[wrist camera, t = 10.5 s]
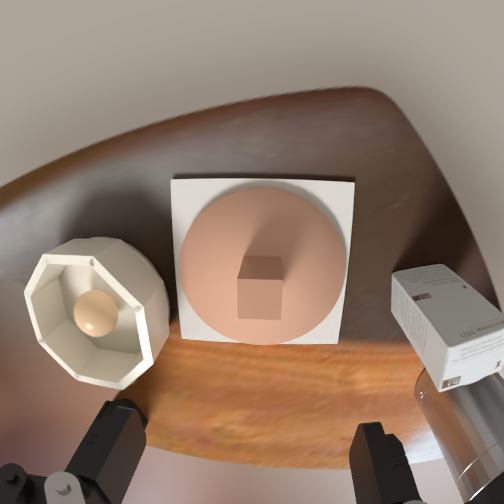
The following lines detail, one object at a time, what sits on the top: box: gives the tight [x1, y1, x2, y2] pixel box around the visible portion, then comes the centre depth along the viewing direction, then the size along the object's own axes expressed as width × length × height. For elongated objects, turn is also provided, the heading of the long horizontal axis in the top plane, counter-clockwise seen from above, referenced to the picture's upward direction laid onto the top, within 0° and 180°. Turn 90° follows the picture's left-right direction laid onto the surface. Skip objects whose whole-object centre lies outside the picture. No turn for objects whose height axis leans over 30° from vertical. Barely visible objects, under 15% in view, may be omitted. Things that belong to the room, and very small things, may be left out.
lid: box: [179, 187, 346, 345], centre depth 24 cm, size 14×14×6 cm
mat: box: [171, 178, 355, 344], centre depth 27 cm, size 15×15×1 cm
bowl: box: [24, 236, 170, 390], centre depth 26 cm, size 13×13×6 cm
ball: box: [74, 290, 118, 337], centre depth 26 cm, size 4×4×4 cm
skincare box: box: [391, 264, 504, 392], centre depth 21 cm, size 6×4×12 cm
